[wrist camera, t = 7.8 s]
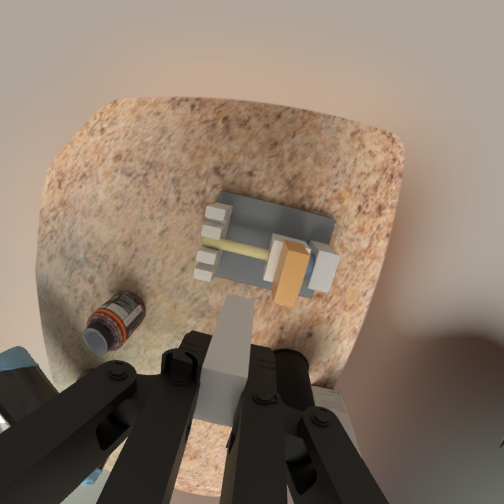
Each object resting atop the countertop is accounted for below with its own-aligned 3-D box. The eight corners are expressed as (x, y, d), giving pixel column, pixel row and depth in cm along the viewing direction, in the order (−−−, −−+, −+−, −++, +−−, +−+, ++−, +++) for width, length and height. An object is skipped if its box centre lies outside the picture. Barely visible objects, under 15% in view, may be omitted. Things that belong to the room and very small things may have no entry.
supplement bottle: (134, 330, 40) (101, 368, 29) (108, 304, 40) (70, 337, 29) (153, 309, 39) (121, 347, 28) (126, 282, 39) (86, 312, 28)
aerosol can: (301, 341, 39) (322, 445, 20) (313, 379, 41) (333, 477, 22) (250, 356, 40) (240, 461, 21) (266, 391, 42) (265, 490, 23)
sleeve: (263, 270, 33) (262, 300, 24) (273, 230, 32) (276, 247, 23) (294, 277, 33) (304, 309, 24) (305, 238, 32) (321, 258, 23)
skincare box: (311, 383, 41) (325, 455, 26) (343, 390, 42) (365, 456, 26) (290, 414, 43) (296, 481, 28) (321, 419, 43) (334, 483, 28)
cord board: (205, 269, 37) (190, 290, 30) (222, 190, 35) (210, 191, 27) (309, 294, 38) (320, 320, 30) (332, 218, 35) (350, 227, 27)
